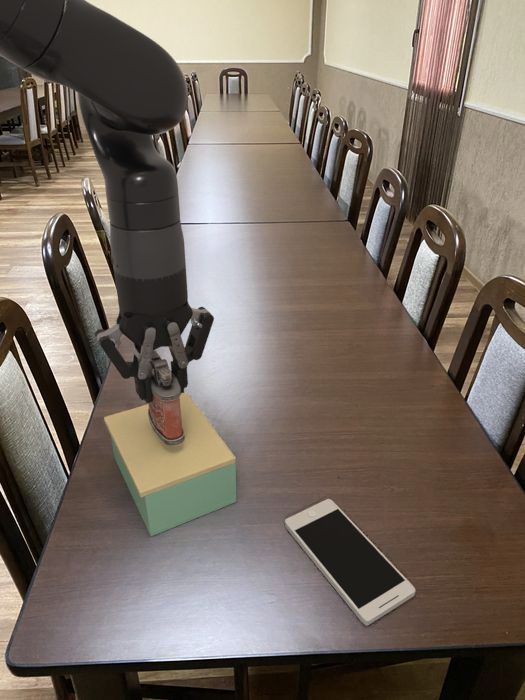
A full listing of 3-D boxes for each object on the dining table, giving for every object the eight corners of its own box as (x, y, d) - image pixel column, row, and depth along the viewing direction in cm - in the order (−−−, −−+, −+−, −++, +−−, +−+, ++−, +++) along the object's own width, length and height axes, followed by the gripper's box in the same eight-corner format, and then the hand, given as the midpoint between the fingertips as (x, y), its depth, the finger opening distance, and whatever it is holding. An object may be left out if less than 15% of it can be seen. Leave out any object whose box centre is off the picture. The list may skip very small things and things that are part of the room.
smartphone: (329, 502, 70) (329, 497, 69) (416, 595, 58) (417, 589, 58) (283, 524, 66) (283, 519, 66) (365, 627, 55) (366, 622, 55)
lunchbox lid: (140, 498, 61) (139, 492, 61) (104, 421, 73) (103, 417, 72) (236, 462, 66) (235, 457, 66) (187, 396, 78) (187, 392, 77)
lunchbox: (150, 537, 65) (144, 496, 61) (114, 458, 76) (107, 420, 73) (236, 502, 70) (236, 463, 66) (190, 433, 81) (187, 396, 78)
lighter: (190, 440, 66) (185, 372, 61) (164, 449, 65) (156, 380, 59) (167, 405, 72) (160, 341, 67) (143, 413, 71) (134, 348, 65)
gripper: (90, 287, 51) (114, 429, 60) (225, 262, 57) (228, 394, 66) (73, 261, 56) (97, 394, 65) (197, 240, 62) (204, 365, 71)
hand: (163, 394), depth 65 cm, fingers closed on lighter, 3 cm apart
